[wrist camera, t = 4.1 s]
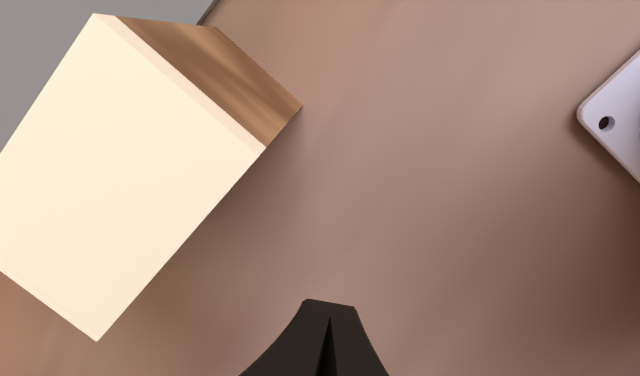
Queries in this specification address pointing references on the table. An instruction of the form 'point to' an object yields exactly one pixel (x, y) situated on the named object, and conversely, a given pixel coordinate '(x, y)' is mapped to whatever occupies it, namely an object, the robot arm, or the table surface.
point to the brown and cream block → (128, 160)
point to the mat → (61, 42)
